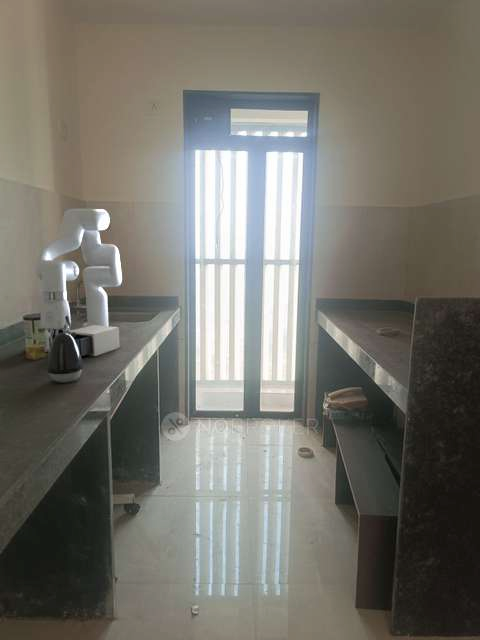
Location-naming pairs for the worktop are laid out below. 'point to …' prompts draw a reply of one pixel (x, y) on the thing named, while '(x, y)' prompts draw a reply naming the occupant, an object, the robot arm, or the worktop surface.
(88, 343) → the dark grey storage bin
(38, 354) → the cube
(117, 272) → the robot arm
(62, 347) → the dark grey rounded dome
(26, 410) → the worktop surface
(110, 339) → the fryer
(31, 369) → the worktop surface
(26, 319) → the coffee can
